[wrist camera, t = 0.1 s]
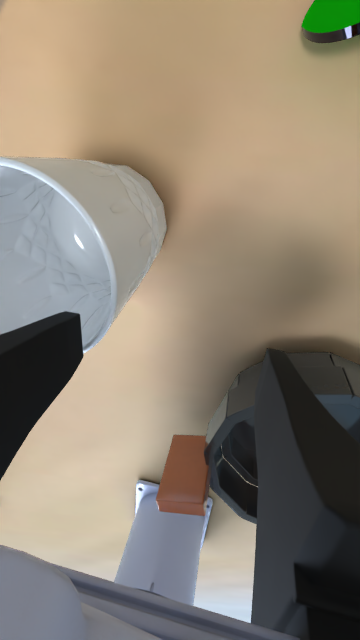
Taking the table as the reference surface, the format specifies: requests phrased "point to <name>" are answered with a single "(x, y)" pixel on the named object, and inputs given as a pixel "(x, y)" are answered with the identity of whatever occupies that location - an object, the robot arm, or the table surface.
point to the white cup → (74, 240)
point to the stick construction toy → (332, 20)
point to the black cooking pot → (249, 438)
